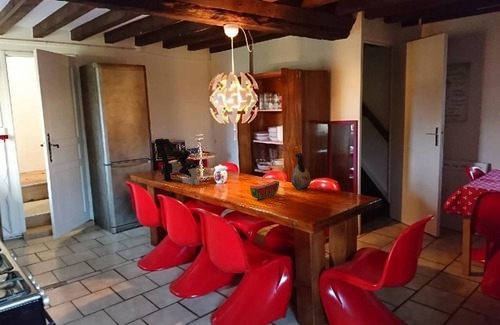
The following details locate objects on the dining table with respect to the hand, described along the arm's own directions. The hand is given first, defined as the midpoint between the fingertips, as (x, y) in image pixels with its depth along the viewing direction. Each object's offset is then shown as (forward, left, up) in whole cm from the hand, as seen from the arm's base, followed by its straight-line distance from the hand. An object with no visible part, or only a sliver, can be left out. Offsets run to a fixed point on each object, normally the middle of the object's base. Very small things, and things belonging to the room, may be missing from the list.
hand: (193, 175), depth 323 cm
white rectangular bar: (-4, -1, -7) cm, 8 cm away
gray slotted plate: (-1, 0, -7) cm, 7 cm away
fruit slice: (+79, +3, -7) cm, 79 cm away
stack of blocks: (-55, +22, -8) cm, 60 cm away
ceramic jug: (+89, +35, -7) cm, 96 cm away
